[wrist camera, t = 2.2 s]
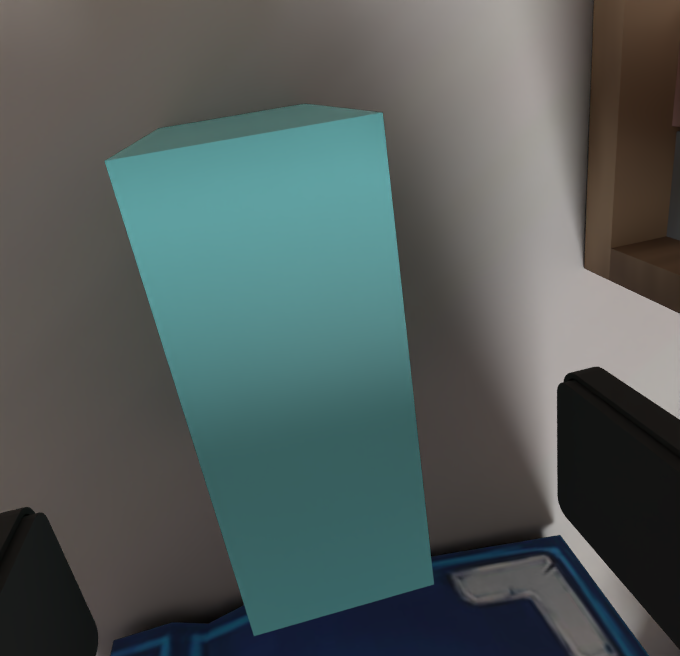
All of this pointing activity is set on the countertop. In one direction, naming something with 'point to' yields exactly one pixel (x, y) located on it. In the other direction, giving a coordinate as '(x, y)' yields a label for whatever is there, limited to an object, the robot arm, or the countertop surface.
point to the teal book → (287, 348)
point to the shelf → (635, 148)
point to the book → (435, 616)
